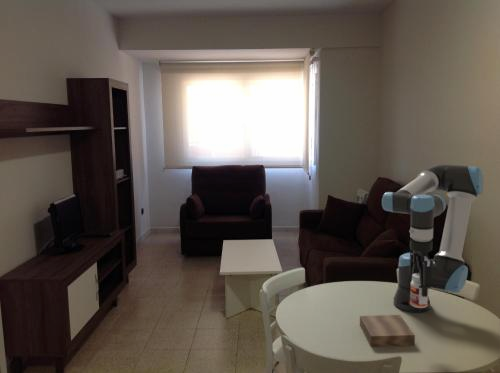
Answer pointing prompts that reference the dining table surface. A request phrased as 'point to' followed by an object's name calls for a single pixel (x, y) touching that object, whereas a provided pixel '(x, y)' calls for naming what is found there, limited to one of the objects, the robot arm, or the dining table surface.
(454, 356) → the dining table surface
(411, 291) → the pill bottle
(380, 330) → the walnut block
